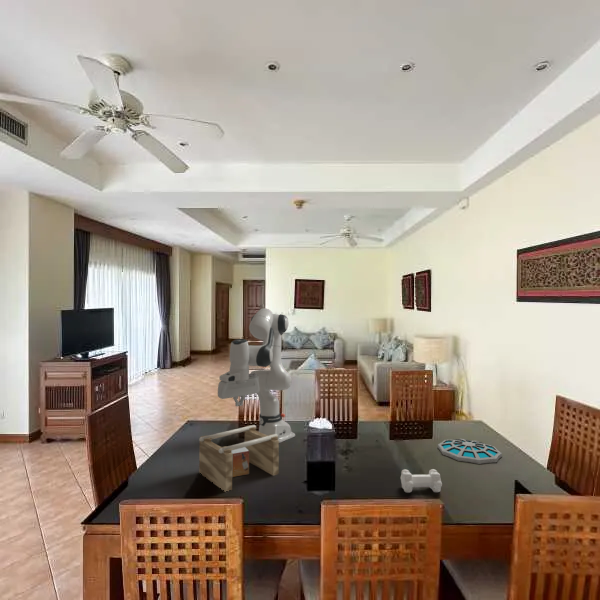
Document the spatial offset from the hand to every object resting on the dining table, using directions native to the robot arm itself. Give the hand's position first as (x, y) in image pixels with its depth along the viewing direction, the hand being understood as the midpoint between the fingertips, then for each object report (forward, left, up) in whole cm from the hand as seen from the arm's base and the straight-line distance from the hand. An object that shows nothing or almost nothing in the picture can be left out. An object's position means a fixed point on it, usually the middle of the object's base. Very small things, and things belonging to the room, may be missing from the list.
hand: (239, 405), depth 174 cm
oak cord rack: (0, 0, -30) cm, 30 cm away
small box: (0, 0, -31) cm, 31 cm away
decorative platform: (-105, +55, -31) cm, 123 cm away
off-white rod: (0, +9, -15) cm, 18 cm away
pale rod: (0, -9, -15) cm, 18 cm away
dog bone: (-49, +62, -31) cm, 85 cm away
